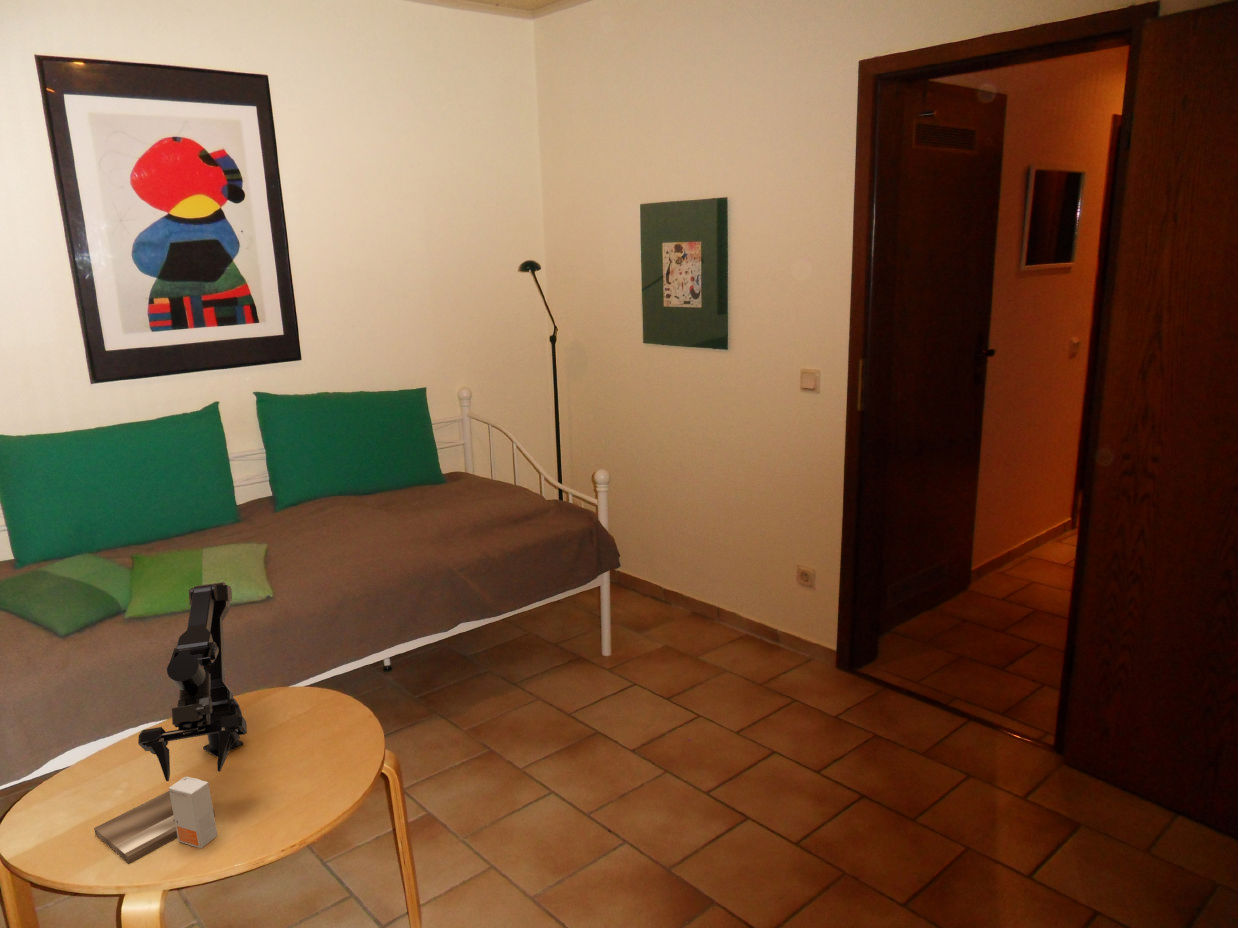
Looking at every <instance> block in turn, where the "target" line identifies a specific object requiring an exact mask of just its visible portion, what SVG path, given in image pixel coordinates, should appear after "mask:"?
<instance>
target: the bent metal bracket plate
mask: <svg viewBox="0 0 1238 928" xmlns="http://www.w3.org/2000/svg"><path fill="white" fill-rule="evenodd" d="M213 812H214V818H215V817H216V814H215V809H213ZM93 829H94V834H95V836H96V837H97V838H99V840H100V841H102V842H103V843H104V844H105V845H107V846H108V847H109V848H110V849H111V850H113V851H114V852H115V853H116V854H117V855H119V857H121V858H122V859H123V860H124V861H125V862H126V863H127V864H131V863H132V862H135V861H137V860H139V859H141V858H142V857H144V856H146V855H148V854H149V853H151V852H153V851H155V850H156V849H159V848H160V847H162V846H164V845H167V844H168V843H170V842H172V841H173V840H175V839H178V837H177V832H176V826H175V820H174V815H173V809H172V803H171V798H170V792H169V790H168V791H166V792H163V793H162V794H159V795H157V796H156V797H153V798H152V799H150V800H148V801H146V802H143V803H142V804H140V805H137V806H135V807H134V808H132V809H129V810H128V811H125V812H123V813H121V814H120V815H118V816H116V817H114V818H112V819H109V820H108V821H105V822H103V823H102V824H99V825H97V826H96V827H94V828H93Z"/></svg>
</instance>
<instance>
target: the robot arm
mask: <svg viewBox="0 0 1238 928" xmlns="http://www.w3.org/2000/svg"><path fill="white" fill-rule="evenodd" d="M231 601H233V591H232V587H231V586H230V585H228V584H226V582H225V581H223V582H215V583H214V582H213V583H206V584H200V585H196V586H195V585H194V586H193V587H191V588H190V589H188V602H189V606H190V607H189V616H188V620H187V628H186V631H184V632H183V633H182V634H181V635H180V636H179V637H178V640H177V643H176V647H174V648H173V651H172V654H171V658H170V660H169V663H168V664H167V667H166V673H167V676H168V677H169V679H170V680H171V681H172V683H173V684H174V686H175V687H176V688H177V689H178V701H177V707H172V708H171V722H172V724H171V725H173V726H174V728H177V729H175V730H170V731H169V730H168V731H166V730H165V729H164V728H163V727H162V726H158V727H153V728H152V727H151V728H147V729H142V730H141V731H140V732H139V735H138V740H137V742H138V743H137V744H138V746H139V747H141V748H142V749H143V750H144V751H145V752H150V754H152V755H156V757H157V760H158V762H159V765H160V767H161V770H162V774H163V777H164V780H165V782H170V777H171V766H170V765H171V764H170V762H171V761H170V759H171V758H170V748H169V747H167V746H168V744H169V742H174V741H178V740H183V739H190V738H195V737H202V736H207V742H208V744H205V745H204V746H202V748H203V749H202V750H204V751H205V752H208V753H209V754H211V755H212V756H213V757H216V758H217V761H216V764H217V766H216V768H217V770H216V771H217V772H218V773H220V772H222V768H223V766H224V764H225V762H226V759H227V757H228V754H229V752H233V750H236V749H238V748H240V747H242V746H243V745H244V742H243V741H242V740H241V739H240V738H241V736H243V735H246V734H247V733H248V730H247V729H248V726H247V725H248V724H247V720H246V719H245V717H244V716H243V713H242V709H241V707H240V704H239V702H238V701H237V700H236V698H234V693H233V691H232V690H231V689H230V688H229V686H228V685H227V683H226V672H225V671H226V670H225V667H226V666H225V645H224V644H225V641H224V620H225V618H226V617H227V615H228V613H229V612H230V609H231V605H230V604H231Z"/></svg>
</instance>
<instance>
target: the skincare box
mask: <svg viewBox="0 0 1238 928" xmlns="http://www.w3.org/2000/svg"><path fill="white" fill-rule="evenodd" d="M168 791H169V792H170V798H171V803H172V809H173V815H174V820H175V826H176V832H177V842H179V843H182V844H185V845H189V846H192V847H195V848H198V849H203V848H204V847H205V846H207V845H208V844H209V843H210V842H212V841H213V840H214V839H216V838H217V837H218V829H217V824H216V820H215V819H216V818H215V817H214V813H215V811H214V812H213V810H214V807H213V802H212V796H211V788H210V783H209V782H208V781H206V780H202V779H200V778H195V777H191V776H188V775H187V776H184V777H182V778H181V779H179V780H178V781H177V782H174V784H172V785H171V786H170V787H168Z"/></svg>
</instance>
